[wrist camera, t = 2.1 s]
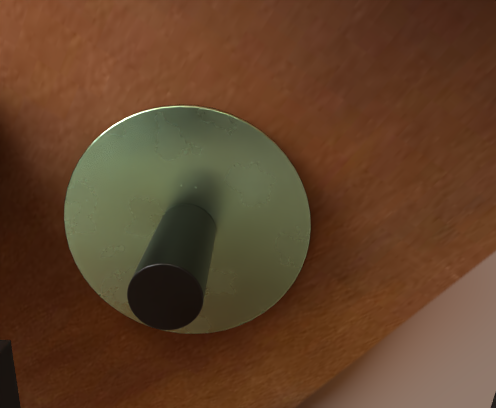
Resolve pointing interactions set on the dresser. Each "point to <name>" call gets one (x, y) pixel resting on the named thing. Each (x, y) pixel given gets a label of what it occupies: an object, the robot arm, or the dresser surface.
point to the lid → (187, 219)
